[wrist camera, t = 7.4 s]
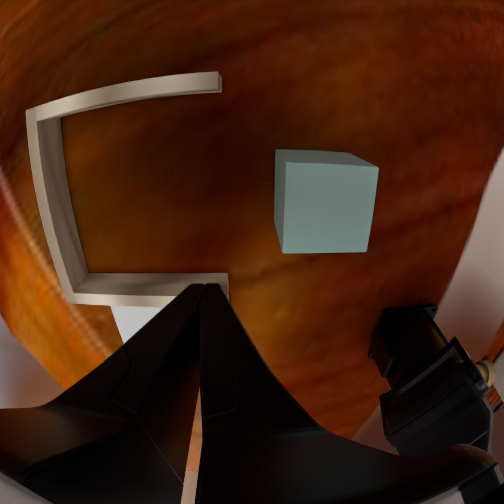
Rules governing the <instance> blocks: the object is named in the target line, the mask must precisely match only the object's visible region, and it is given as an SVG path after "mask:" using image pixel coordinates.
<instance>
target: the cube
mask: <svg viewBox="0 0 504 504" xmlns="http://www.w3.org/2000/svg"><path fill="white" fill-rule="evenodd" d="M378 170H379V167H377V166H375V165H373V164H371V163H369V162H367V161H365V160H363V159H361V158H358V157H356V156H354V155H352V154H350V153H345V152H331V151H313V150H285V149H275V196H274V223H275V227H276V231H277V234H278V238H279V242H280V246H281V250H282V253H336V252H366V251H367V246H368V240H369V235H370V229H371V223H372V216H373V209H374V202H375V195H376V187H377V179H378Z"/></svg>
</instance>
